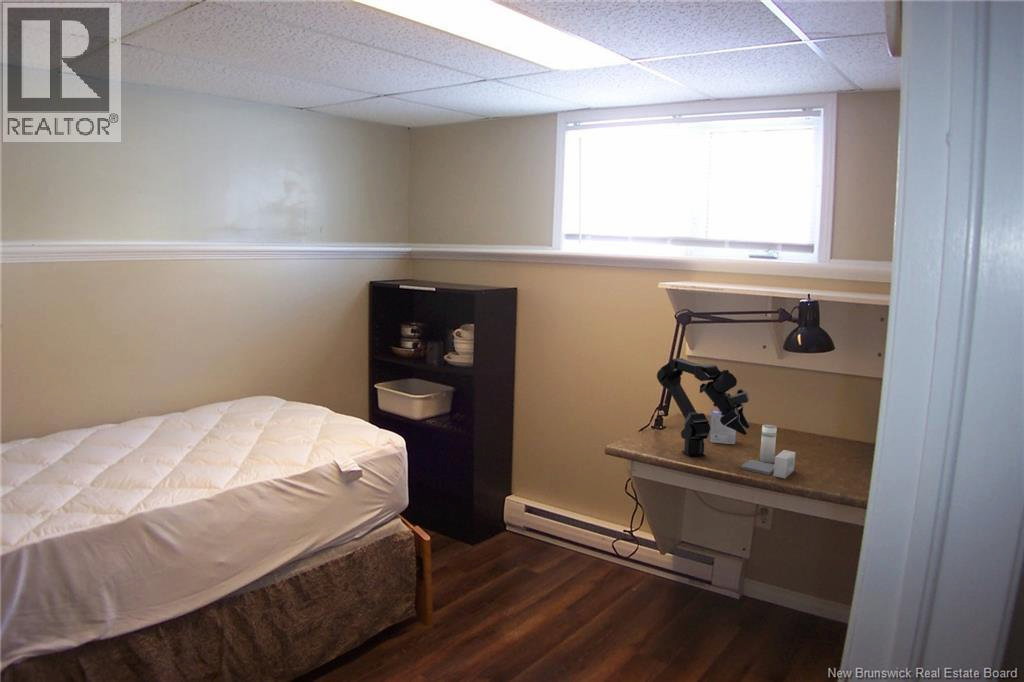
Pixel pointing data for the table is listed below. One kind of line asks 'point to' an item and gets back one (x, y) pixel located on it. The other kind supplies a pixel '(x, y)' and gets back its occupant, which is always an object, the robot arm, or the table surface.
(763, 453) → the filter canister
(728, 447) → the table surface
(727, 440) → the ink cartridge box
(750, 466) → the dock mat
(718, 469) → the table surface
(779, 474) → the block
